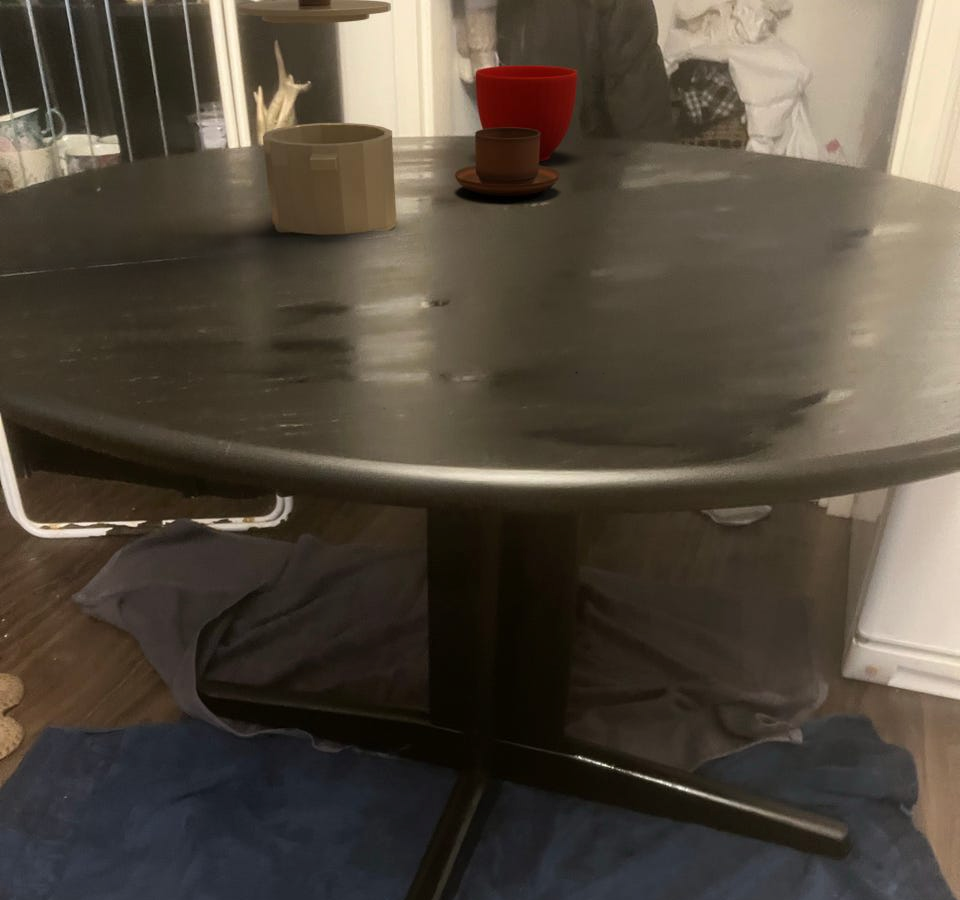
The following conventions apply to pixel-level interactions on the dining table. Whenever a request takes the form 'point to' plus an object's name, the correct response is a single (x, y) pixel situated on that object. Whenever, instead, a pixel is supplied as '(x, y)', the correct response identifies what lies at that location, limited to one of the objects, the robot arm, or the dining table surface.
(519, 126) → the ceramic cup
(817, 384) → the dining table surface
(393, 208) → the pot
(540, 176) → the cup and saucer
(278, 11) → the lid
